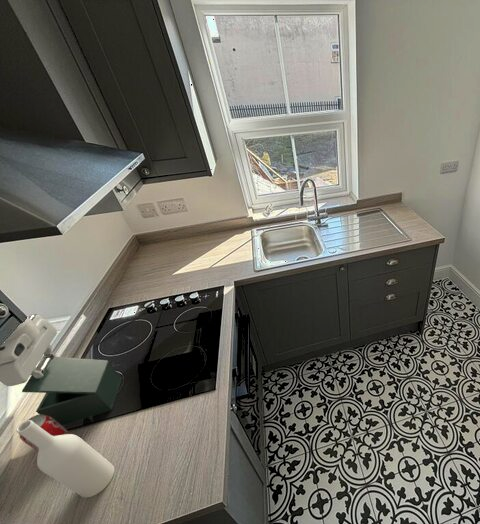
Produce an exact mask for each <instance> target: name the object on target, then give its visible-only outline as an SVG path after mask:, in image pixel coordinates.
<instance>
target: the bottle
mask: <svg viewBox="0 0 480 524" xmlns="http://www.w3.org/2000/svg"><path fill="white" fill-rule="evenodd" d="M27 420H28V419H27ZM27 420H25V421H23V422H21V423H20V424H19V425H18V426H17V427H16V433H17V434H18V435H19V434H20V435H22V436H23V437H25V438H26V439H27V440H29V441H30V442H32V443H33V444H34V445H36V446H37V447H38V448H39V451H37V457H36V465H37V468H38V469H39V470H40V471H41V472H43V473H44V474H45V475H47V476H48V477H51V478H52V479H53V480H55V481H56V482H58V483H59V484H61V485H63V486H64V487H66V488H67V489H69V490H70V491H72V492H74V493H75V494H77V495H79V496H80V497H81V498H91V497H94V496H96V495H99V493H101V492H102V491H104V490H105V488H106V487H108V485H109V484H110V482H111V481H112V479H113V477H114V475H115V467H114V465H113V464H112V463H111V462H110V461H109V460H107V459H106V457H104V456H103V455H101V454H100V453H99V452H98V451H97V450H95V448H93V447H92V446H91V445H89V443H87V442H86V440H85V441H84V439H82V438H81V437H79V436H78V435H76V434H74V433H70V434H65V435H58V436H52V435H50V434H49V433H47V432H46V431H45V430H43V429H42V428H41V427H39V426H38V425H37V424H36V423H34V422H33V421H31V420H28V421H27ZM20 435H19V436H20Z"/></svg>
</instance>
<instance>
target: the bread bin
mask: <svg viewBox="0 0 480 524" xmlns="http://www.w3.org/2000/svg"><path fill="white" fill-rule="evenodd" d="M122 380H123V377H121V375H120V374H119V373H118V372H117V370H115V368H114V366H112V364H111V363H110V362H109V361H108V362H107V365H106V368H105V370H104V373H103V375H102V378H101V380H100V383H99V385H98V388H97V390H96V393H95V394H79V393H44V396H43V397H42V400H41V401H40V403H39V405H38V407H37V408H36V411H35V412H36V413H37V415H44V416H50V417H52V418H53V419H55V420H56V421H57V422H58V423H60V424H61V425H62V426H63V427H64V426H66V425H69V424H72V423H76V422H78V421H83V420H85V419H89V418H91V417H95V416H98V415H102V414H105V413H108V412H112V411H113V408H114V405H115V402H116V399H117V396H118V393H119V390H120V387H121V384H122Z"/></svg>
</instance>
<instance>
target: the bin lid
mask: <svg viewBox="0 0 480 524" xmlns="http://www.w3.org/2000/svg"><path fill="white" fill-rule="evenodd" d="M43 357H44V355H43V356H42V358H41V359H40V361H39V362H38V364H37V366H36V368H37V369H36V370H41V369H43V370H44V371H45V373H44V375H43V377H41V378H35V377H34V376H33V375H30V377H29V378H28V380H27V381H26V382H25V385H24V386H23V389H22V390H21V393H35V394H37V393H38V394H46V393H79V394H95V393H96V390H97V388H98V385H99V383H100V380H101V378H102V375H103V373H104V370H105V368H106V365H107V362H109V360H106V359H94V358H78V357H64V356H63V357H62V356H54V358H53V360H52V358H50V357H45V358H43Z"/></svg>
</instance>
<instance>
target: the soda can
mask: <svg viewBox="0 0 480 524" xmlns="http://www.w3.org/2000/svg"><path fill="white" fill-rule="evenodd" d="M28 420H31V421H33V422H34V423H36V424H37V425H38V426H39V427H41V428H42V429H43V430H45V431H46V432H47V433H49V434H50V435H52V436H58V435H65V434H71V432H70V431H69V430H68V429H67V428H66V427H65V426H64V425H63V426H62V425H61V424H60V423H58V422H57V421H56V420H55V419H53V418H52V417H50V416H44V415H40V414H36V415H34V416H31V417H29V418H28V419H27V420H26V421H28ZM18 435H19V439H20V440H21V441H22V442H23V443H25V444H26V445H28V446H29V447H30V448H32V449H33V450H35V451H36V452H38V451H39V448H38V447H37V446H36V445H34V444H33V443H32V442H30V441H29V440H27V439H26V438H25V437H23V436H22V435H20V434H19V433H18Z"/></svg>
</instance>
